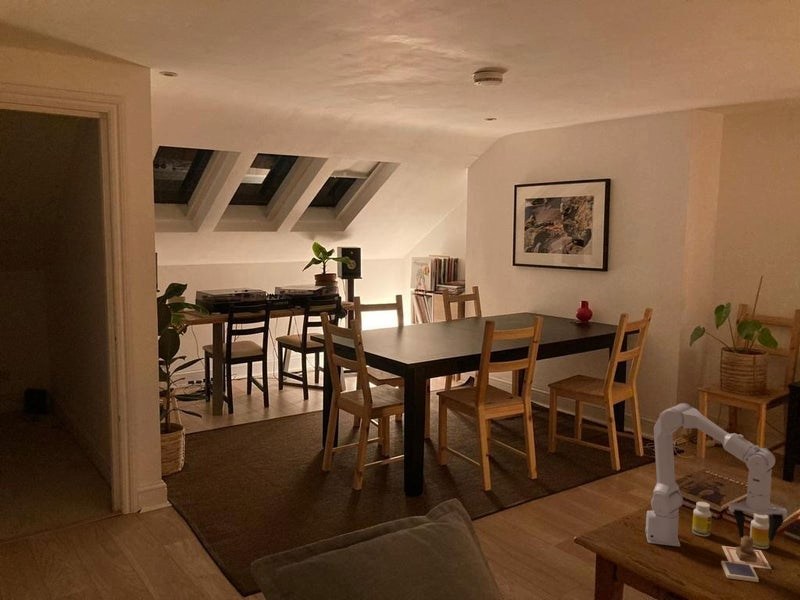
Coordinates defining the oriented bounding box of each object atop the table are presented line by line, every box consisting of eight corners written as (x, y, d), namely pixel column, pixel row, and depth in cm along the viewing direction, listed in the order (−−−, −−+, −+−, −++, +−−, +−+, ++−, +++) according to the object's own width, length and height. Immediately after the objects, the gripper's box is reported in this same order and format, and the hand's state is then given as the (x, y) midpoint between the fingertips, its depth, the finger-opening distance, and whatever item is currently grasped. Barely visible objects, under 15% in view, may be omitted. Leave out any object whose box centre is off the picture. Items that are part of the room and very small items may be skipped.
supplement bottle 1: (709, 538, 206) (711, 509, 205) (690, 534, 209) (692, 505, 208) (711, 531, 211) (713, 503, 210) (693, 527, 214) (695, 499, 213)
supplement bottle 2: (771, 550, 199) (773, 520, 198) (752, 548, 200) (754, 518, 199) (765, 541, 204) (767, 512, 203) (747, 540, 205) (749, 511, 204)
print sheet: (729, 564, 191) (729, 563, 191) (721, 546, 201) (721, 545, 201) (771, 569, 188) (771, 568, 188) (761, 551, 198) (761, 550, 198)
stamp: (739, 560, 192) (741, 541, 192) (735, 552, 197) (737, 534, 196) (756, 562, 191) (757, 543, 191) (752, 554, 196) (753, 535, 195)
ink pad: (727, 578, 183) (727, 574, 183) (721, 563, 191) (721, 560, 191) (758, 582, 181) (758, 578, 181) (751, 567, 189) (751, 563, 189)
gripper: (734, 494, 182) (731, 540, 183) (792, 500, 178) (788, 547, 179) (728, 485, 188) (725, 529, 190) (784, 490, 185) (780, 535, 186)
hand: (755, 537), depth 185 cm, fingers open, 7 cm apart
